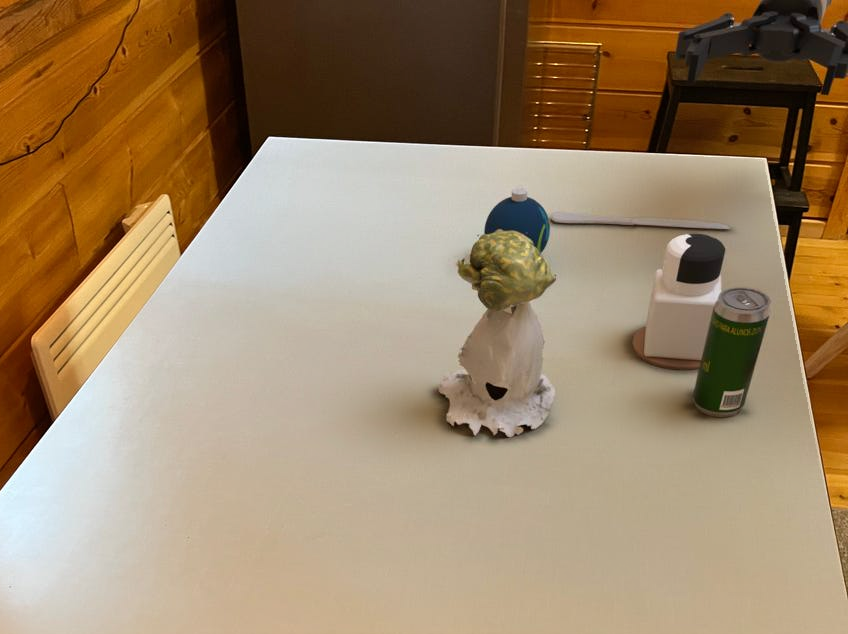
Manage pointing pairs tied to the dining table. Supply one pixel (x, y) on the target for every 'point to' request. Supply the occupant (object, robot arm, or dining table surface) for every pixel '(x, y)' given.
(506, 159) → the dining table surface
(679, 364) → the coaster
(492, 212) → the christmas ornament
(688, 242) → the medicine bottle
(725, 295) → the green drink can
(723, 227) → the butter knife
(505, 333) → the white and green statuette
